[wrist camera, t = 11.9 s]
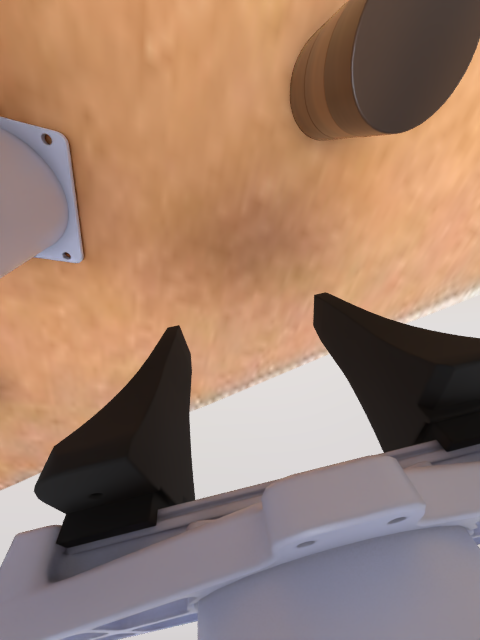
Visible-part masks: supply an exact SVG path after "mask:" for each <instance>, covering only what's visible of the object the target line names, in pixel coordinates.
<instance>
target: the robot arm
mask: <svg viewBox="0 0 480 640" xmlns="http://www.w3.org/2000/svg"><path fill="white" fill-rule="evenodd" d="M46 134H48V135H49V136H50V137H51V139H52V143H51V144H48V143H47V142H46V141H45V135H46ZM65 252H66V253H69V254H70V256H71V257H67V256H66V255H65ZM33 257H36V258H43V259H50V260H57V261H64V262H71V263H80V262H81V261H82V260H83V259H84V254H83V247H82V239H81V232H80V224H79V216H78V209H77V201H76V194H75V186H74V179H73V171H72V163H71V156H70V148H69V143H68V140H67V138H66V137H65V136H64V135H63V134H62V133H60V132H58V131H54V130H50V129H46V128H43V127H39V126H35V125H31V124H27V123H23V122H20V121H16V120H12V119H8V118H4V117H1V116H0V278H2V277H3V276H5V275H7V274H8V273H10V272H11V271H13V270H14V269H16V268H17V267H19V266H20V265H22V264H23V263H25V262H27V261H28V260H30V259H31V258H33ZM313 326H314V328H315V330H316V332H317V334H318V336H319V338H320V340H321V342H322V343H323V345H324V346H325V347H326V349H327V350H328V352H329V353H330V355H331V356H332V357H333V359H334V360H335V362H336V363H337V365H338V366H339V367H340V369H341V370H342V372H343V373H344V375H345V376H346V378H347V379H348V381H349V383H350V385H351V387H352V388H353V390H354V392H355V394H356V396H357V398H358V400H359V402H360V404H361V405H362V407H363V409H364V411H365V413H366V415H367V417H368V419H369V421H370V423H371V426H372V428H373V429H374V432H375V434H376V436H377V438H378V440H379V443H380V445H381V447H382V450H383V452H384V453H382V454H378V455H371V456H366V457H361V458H357V459H353V460H349V461H345V462H341V463H337V464H333V465H330V466H326V467H321V468H318V469H313V470H310V471H306V472H301V473H297V474H294V475H290V476H287V477H285V478H282V479H278V480H274V481H270V482H266V483H262V484H258V485H254V486H250V487H246V488H242V489H238V490H234V491H230V492H227V493H222V494H218V495H214V496H210V497H206V498H202V499H199V500H195V493H194V483H193V471H192V458H191V443H190V424H189V407H190V392H191V375H192V367H191V354H190V351H189V349H188V346H187V344H186V341H185V339H184V336H183V333H182V331H181V328H180V326H179V325H178V326H174V327H169V328H167V330H166V331H165V333H164V334H163V336H162V337H161V339H160V341H159V342H158V344H157V345H156V347H155V348H154V350H153V351H152V353H151V354H150V356H149V357H148V359H147V360H146V361H145V363H144V364H143V365H142V367H141V368H140V370H139V371H138V372H137V373H136V375H135V376H134V377H133V378H132V379H131V380H130V381H129V383H128V384H127V385H126V386H125V387H124V388H123V389H122V390H121V391H120V392H119V393H118V394H117V395H116V396H115V397H114V398H113V399H112V400H111V401H110V402H109V403H108V404H107V405H106V406H105V407H104V408H102V409H101V410H100V411H99V412H98V413H97V414H96V415H94V416H93V417H92V418H91V419H90V420H88V421H87V422H86V423H85V424H83V425H82V426H81V427H80V428H78V429H77V430H76V431H74V432H73V433H72V434H70V435H69V436H68V437H66V438H65V439H64V440H62V441H61V442H60V443H58V444H57V445H55V446H54V448H53V449H52V451H51V454H50V456H49V458H48V460H47V462H46V464H45V466H44V468H43V470H42V472H41V474H40V477H39V479H38V481H37V483H36V485H35V489H34V492H35V494H36V496H37V497H38V499H40V500H41V501H42V502H44V503H46V504H48V505H50V506H52V507H54V508H56V509H58V510H59V511H61V512H63V513H65V514H66V516H65V519H64V521H63V525H62V526H61V525H51V526H46V527H42V528H38V529H34V530H30V531H26V532H22V533H19V534H17V535H16V536H15V537H14V540H13V542H12V544H11V546H10V548H9V550H8V552H7V554H6V557H5V559H4V561H3V563H2V565H1V567H0V640H118V639H123V638H127V637H131V636H136V635H140V634H144V633H148V632H153V631H157V630H161V629H166V628H170V627H174V626H179V625H183V624H187V623H192V622H196V621H198V640H480V548H479V547H478V546H477V545H478V544H480V338H473V337H465V336H458V335H452V334H446V333H441V332H436V331H431V330H427V329H423V328H418V327H414V326H410V325H407V324H403V323H400V322H397V321H393V320H390V319H387V318H384V317H382V316H379V315H376V314H374V313H371V312H369V311H366V310H364V309H361V308H359V307H357V306H355V305H352V304H350V303H348V302H346V301H344V300H342V299H340V298H337V297H335V296H333V295H331V294H328V293H326V292H325V293H321V294H317V295H314V320H313Z"/></svg>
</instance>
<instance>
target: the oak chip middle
mask: <svg viewBox="0 0 480 640" xmlns="http://www.w3.org/2000/svg"><path fill="white" fill-rule="evenodd" d="M349 2H350V0H348V1H347V2H346V3H345V4H344V5H343V6H342V7H341V8H340V9H339V10H338V11H337V12H336V13H335V14H334V15H333V16H332V17H331V18H330V19H329V21H328V22H327V23H326V24H325V26H324V27H323V29H322V30H321V32H320V33H319V35H318V37H317V39H316V41H315V43H314V45H313V48H312V50H311V53H310V56H309V59H308V64H307V68H306V75H305V99H306V105H307V109H308V112H309V115H310V117H311V119H312V121H313V123H314V124H315V126H316V127H317V128H318V129H319V130H320V131H321V132H322V133H323V134H325V135H327V136H329V137H332V138H337V139H342V138H353V137H357V136H353V135H350V134H348V133H346V132H345V131H343V130H342V129H341V128H340V127H339V126H338V125H337V124H336V122H335V121H334V119H333V118H332V116H331V114H330V111H329V108H328V105H327V102H326V97H325V89H324V71H325V62H326V56H327V51H328V47H329V43H330V40H331V37H332V34H333V32H334V29H335V27H336V25H337V22H338V20H339V18H340V16H341V15H342V13H343V11H344V9H345V8H346V6H347V5H348V3H349Z"/></svg>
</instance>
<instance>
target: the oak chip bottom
mask: <svg viewBox="0 0 480 640" xmlns="http://www.w3.org/2000/svg"><path fill="white" fill-rule="evenodd" d="M328 21H329V20H328ZM328 21H327V22H328ZM327 22H326V23H327ZM326 23H325V24H326ZM325 24H324V25H323V26H322V27H321V28H320V29H319V30H318V31H317V32H316V33H315V34H314V35H313V36H312V37H311V38H310V39H309V40H308V42H307V43H306V44H305V46H304V47H303V49H302V50H301V52H300V54H299V56H298V58H297V61H296V63H295V66H294V70H293V73H292V78H291V85H290V103H291V109H292V113H293V116H294V119H295V121H296V123H297V125H298V126H299V128H300V129H301V130H302V131H303V132H304V133H305V134H306V135H307V136H309V137H310V138H313V139H316V140H332V139H337V138H332V137H329V136H327V135H325V134H323V133H322V132H321V131H320V130H319V129H318V128H317V127H316V126H315V124H314V123H313V121H312V119H311V117H310V115H309V112H308V109H307V105H306V99H305V75H306V68H307V64H308V59H309V56H310V53H311V50H312V48H313V45H314V43H315V41H316V39H317V37H318V35H319V33H320V32H321V30H322V29H323V27H324V26H325Z"/></svg>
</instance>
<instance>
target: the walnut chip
mask: <svg viewBox="0 0 480 640" xmlns="http://www.w3.org/2000/svg"><path fill="white" fill-rule="evenodd" d="M479 39H480V0H350V2H349V3H348V5H347V6H346V8H345V9H344V11H343V13H342V15H341V16H340V18H339V20H338V22H337V25H336V27H335V29H334V32H333V34H332V37H331V40H330V43H329V47H328V51H327V56H326V62H325V71H324V89H325V97H326V102H327V105H328V108H329V111H330V114H331V116H332V118H333V119H334V121H335V122H336V124H337V125H338V126H339V127H340V128H341V129H342V130H343V131H345V132H346V133H348V134H350V135H353V136H357V137H367V136H378V135H389V134H398V133H402V132H406V131H408V130H411V129H413V128H415V127H417V126H418V125H420V124H422V123H423V122H424V121H426V120H427V119H428V118H430V117H431V116H432V115H433V114H434V113H435V112H436V111H437V110H438V109H439V108H440V107H441V106H442V105H443V104H444V103H445V102H446V101H447V99H448V98H449V97H450V95H451V94H452V93H453V91H454V90H455V88H456V87H457V85H458V84H459V82H460V81H461V79H462V77H463V76H464V74H465V72H466V70H467V68H468V66H469V64H470V62H471V60H472V57H473V55H474V53H475V50H476V48H477V45H478V42H479Z"/></svg>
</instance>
